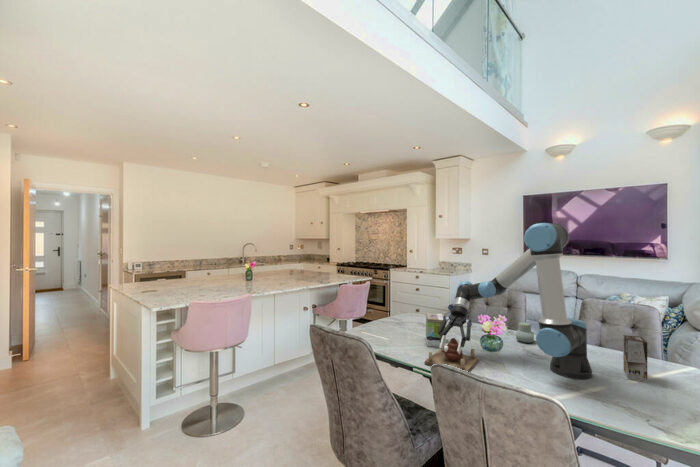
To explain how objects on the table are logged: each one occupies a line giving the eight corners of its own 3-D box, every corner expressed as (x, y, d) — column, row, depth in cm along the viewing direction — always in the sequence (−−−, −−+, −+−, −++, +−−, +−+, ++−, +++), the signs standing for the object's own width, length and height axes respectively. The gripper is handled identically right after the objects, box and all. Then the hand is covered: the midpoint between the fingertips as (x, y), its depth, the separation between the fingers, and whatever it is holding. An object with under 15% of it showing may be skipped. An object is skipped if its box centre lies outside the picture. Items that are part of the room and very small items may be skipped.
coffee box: (648, 382, 128) (647, 342, 128) (627, 379, 131) (626, 339, 131) (642, 374, 135) (642, 336, 136) (623, 371, 139) (622, 334, 139)
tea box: (446, 347, 169) (445, 319, 169) (426, 346, 171) (426, 318, 171) (443, 338, 184) (443, 313, 184) (425, 337, 186) (425, 312, 186)
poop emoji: (462, 362, 143) (463, 342, 143) (442, 359, 146) (443, 339, 145) (462, 354, 152) (463, 335, 152) (444, 352, 155) (444, 332, 155)
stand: (478, 360, 151) (478, 349, 151) (466, 374, 136) (466, 361, 136) (439, 352, 162) (439, 341, 162) (424, 364, 147) (424, 352, 147)
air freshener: (533, 345, 172) (533, 326, 172) (515, 342, 176) (515, 324, 176) (533, 339, 181) (533, 322, 181) (517, 337, 185) (517, 320, 186)
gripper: (483, 316, 155) (474, 359, 142) (442, 310, 167) (430, 350, 154) (480, 307, 151) (470, 351, 138) (438, 302, 163) (426, 342, 150)
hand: (449, 350), depth 146 cm, fingers closed on poop emoji, 7 cm apart
